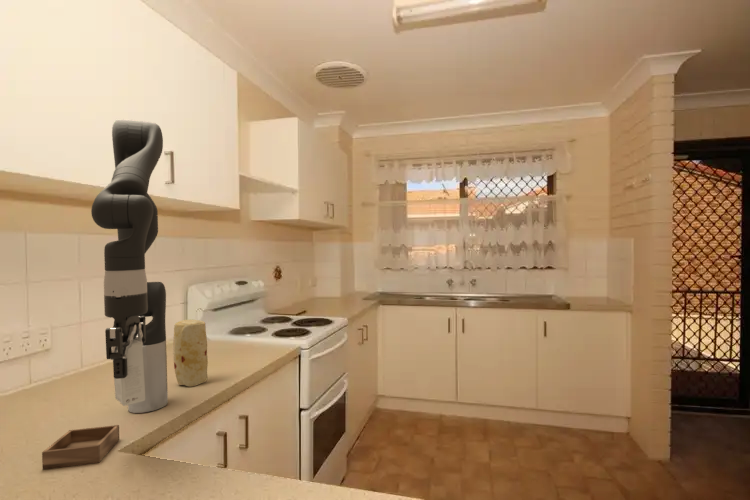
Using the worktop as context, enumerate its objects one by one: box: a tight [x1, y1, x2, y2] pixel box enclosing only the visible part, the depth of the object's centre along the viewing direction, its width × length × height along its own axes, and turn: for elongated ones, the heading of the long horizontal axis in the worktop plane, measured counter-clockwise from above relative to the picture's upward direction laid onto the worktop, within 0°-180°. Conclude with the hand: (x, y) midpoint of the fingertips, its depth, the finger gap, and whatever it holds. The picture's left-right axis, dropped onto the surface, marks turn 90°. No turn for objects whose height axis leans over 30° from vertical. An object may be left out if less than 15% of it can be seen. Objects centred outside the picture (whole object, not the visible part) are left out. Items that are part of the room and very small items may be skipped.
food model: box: [172, 318, 209, 388], centre depth 123 cm, size 10×7×20 cm
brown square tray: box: [41, 424, 120, 470], centre depth 82 cm, size 10×10×3 cm
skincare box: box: [113, 340, 145, 407], centre depth 82 cm, size 6×4×12 cm
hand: (128, 371), depth 82 cm, fingers closed on skincare box, 7 cm apart
